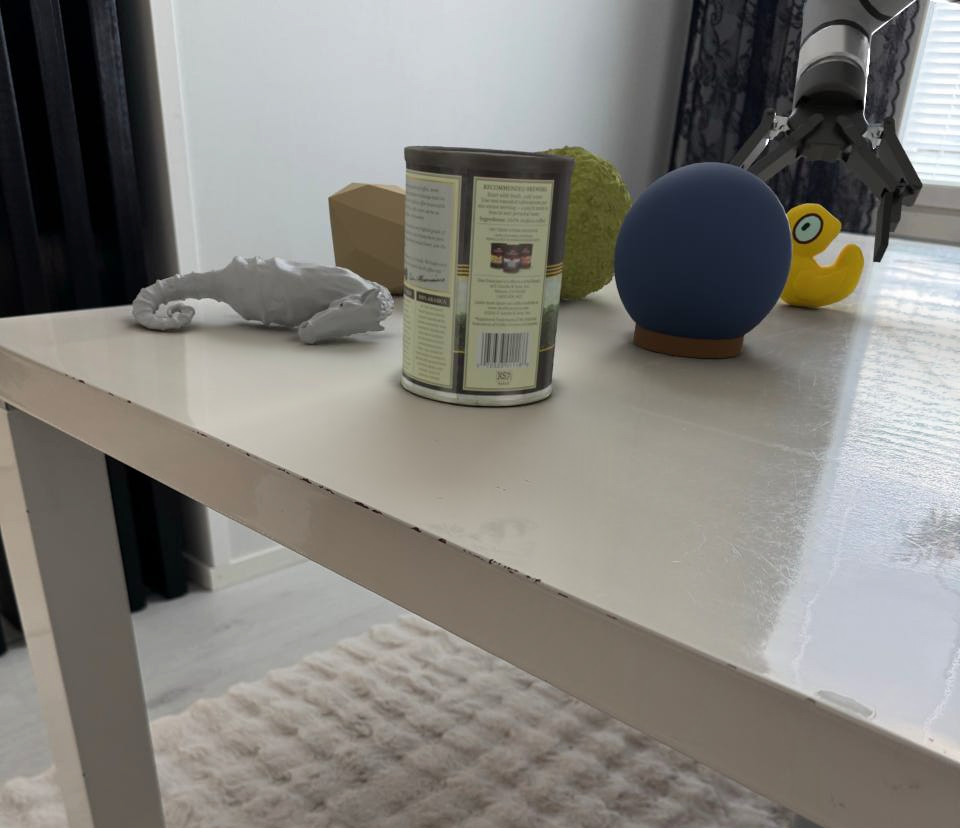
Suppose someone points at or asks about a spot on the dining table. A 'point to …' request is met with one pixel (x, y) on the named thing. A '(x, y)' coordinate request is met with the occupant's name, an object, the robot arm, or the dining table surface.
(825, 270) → the duckling
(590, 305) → the dining table surface
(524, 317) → the coffee can
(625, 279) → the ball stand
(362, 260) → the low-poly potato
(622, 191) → the fruit
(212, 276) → the seahorse
